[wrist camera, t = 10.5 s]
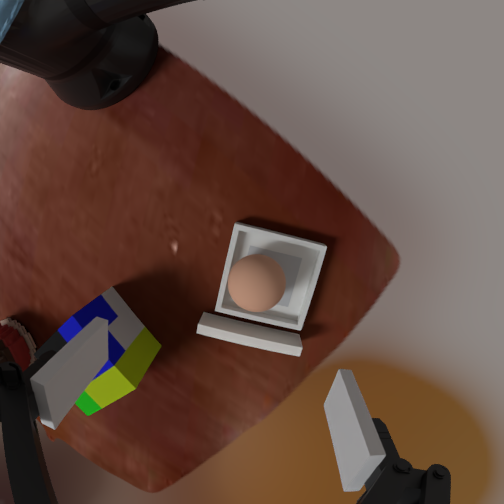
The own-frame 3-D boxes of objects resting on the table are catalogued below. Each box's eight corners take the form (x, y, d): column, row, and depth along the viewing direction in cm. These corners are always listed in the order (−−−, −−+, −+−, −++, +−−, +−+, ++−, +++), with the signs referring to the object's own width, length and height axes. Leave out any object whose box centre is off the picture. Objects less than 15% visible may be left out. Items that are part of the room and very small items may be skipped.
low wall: (203, 311, 37) (198, 323, 34) (299, 334, 37) (302, 347, 34) (201, 320, 37) (196, 333, 34) (296, 342, 38) (299, 356, 34)
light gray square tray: (236, 221, 35) (234, 223, 33) (323, 243, 35) (327, 246, 33) (217, 305, 37) (214, 310, 35) (299, 324, 37) (301, 330, 35)
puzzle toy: (112, 286, 37) (72, 315, 27) (161, 345, 39) (135, 388, 29) (72, 323, 39) (33, 354, 29) (116, 375, 40) (87, 416, 30)
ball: (252, 245, 36) (223, 248, 30) (300, 262, 33) (278, 268, 28) (240, 293, 37) (211, 304, 32) (285, 313, 34) (261, 328, 29)
